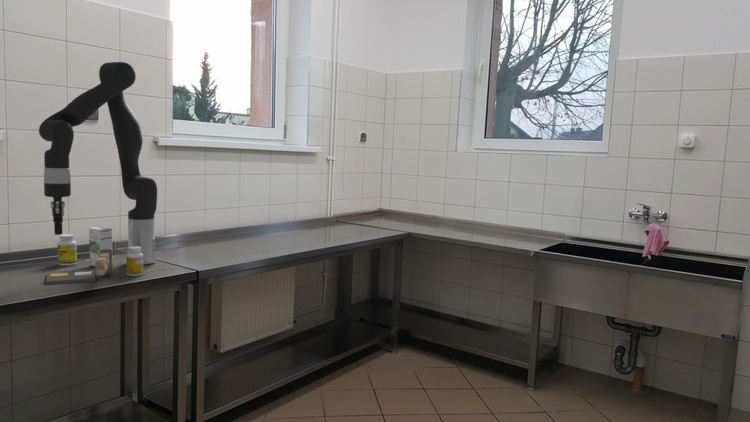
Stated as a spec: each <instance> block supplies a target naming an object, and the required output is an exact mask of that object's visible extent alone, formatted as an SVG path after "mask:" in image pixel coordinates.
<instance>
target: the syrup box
mask: <svg viewBox="0 0 750 422" xmlns="http://www.w3.org/2000/svg"><path fill="white" fill-rule="evenodd" d="M88 237H89V238H88V239H89V240H88V244H89V245H88V247H89V248H88V249H89V266H90V267H94V268H96V264H95V262H96V261H97V259H98V257H99V256H100V250H104V249H110V250H112V251H113V228H112V227H111V226H110V227H109V226H104V225H103V226H101V225H99V226H98V225H97V226H92V227H88ZM113 258H114V257H113V255H112V264H113V263H114V262H113ZM113 265H114V264H113Z"/></svg>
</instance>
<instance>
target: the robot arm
mask: <svg viewBox="0 0 750 422" xmlns="http://www.w3.org/2000/svg"><path fill="white" fill-rule="evenodd" d="M98 77H99V81H100V83H99V84H98V85H96V86H94V87H92V88H89V90H87V91H84V92H82V93H81V94H79V95H77V96H76V97H75V98H74V99H72V101H70V102H69V103H68V104H67V105H65V107H63V109H61V110H59V111H57V112H56V113H54V114H52V115H50V116H49V117H47V118H45V119H44V120H43V121H42V122H41V124H40V125H39V128H38V134H39V136H40V138H41V139H42V140H44V141H46V142H51V146H50V148H49V149H47V150H45V151H44V157H43V159H44V160H43V161H44V170H43V171H44V172H43V192H44V193H43V195H44V197H47V198H53V199H52V200H53V201H50V208H51V216H52V222H53V224H54V231H53V232H54V235H55V236H57V235H59V236H60V235H63V222H64V216H65V208H66V201H63V198H67V197H70V196H72V195H71V194H72V193H71V192H72V191H71V189H72V187H71V186H72V184H71V171H70V153H71V151H72V148H73V147H72V146H73V142H74V138H75V137H74V136H75V135H74V134H75V133H74V129H73V127H76V126H80V125H82V124H83V123H84V122H86V120H87V119H89V118H90V117H91V116H92V115H93V114H94V113H95V112H97V110H99V109H100V108H101V107H102V106H103V105H105V104H107V107H108V111H109V117H110V120H111V125H112V130H113V135H114V136H113V137H114V140H115V144H116V149H117V154H118V159H119V165H120V170H121V173H120V174H121V180H122V181H121V182H122V183H121V184H122V189H123V192H124V194H125V196H126V197H127V199H129V200H133V201H135V205H134V208H132V209H130V210H128V213H127V216H128V217H127V223H128V224H127V229H128V230H127V236H128V237H127V241H128V249H127V250H128V251H127V252H128V253H129V247H133V246H139V247H141V251H140V253H142V254H143V265H148V264H155V263H156V239H155V238H156V237H155V213H156V212H157V208H158V207H157V206H158V203H157V202H158V185H157V182H156V181H155V180H154V179H153V178H151V177H149V176H142V175H141V173H140V172H141V171H140V166H139V160H140V159H139V157H140V154H141V151H142V147H143V135H142V128H141V125H140V123H139V120H138V118H137V117H136V115H135V114H134V112H133V111H132V109H131V108H130V107H129V105H128V103H127V101H126V99H125V94H124V91H125V90H127V89H128V88H131V86H133V85H134V84H135V81H136V78H137V75H136V70H135V69H134V67H133V66H132V65H131V64H130V63H128V62H124V61H114V62H113V61H112V62H111V61H109V62H105V63H102V65H101V66H100V67H99V70H98ZM128 253H127V254H128Z"/></svg>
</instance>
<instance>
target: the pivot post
mask: <svg viewBox="0 0 750 422" xmlns="http://www.w3.org/2000/svg"><path fill="white" fill-rule="evenodd" d="M113 266H114V264H109V266H108V268H107V270H106V272H105V274H104V275H101V276H99V277H101V278H102V277H103V278H109V277H112V276H113V275H114V273H113V272H114V269H113Z"/></svg>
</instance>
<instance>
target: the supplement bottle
mask: <svg viewBox="0 0 750 422" xmlns="http://www.w3.org/2000/svg"><path fill="white" fill-rule="evenodd" d="M140 251H141V247H139V246H133V247H129V253H127V254H126V275H127V276H128V277H137V276H138V277H139V276H143V275H144V264H143V254H142V253H140Z"/></svg>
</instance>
